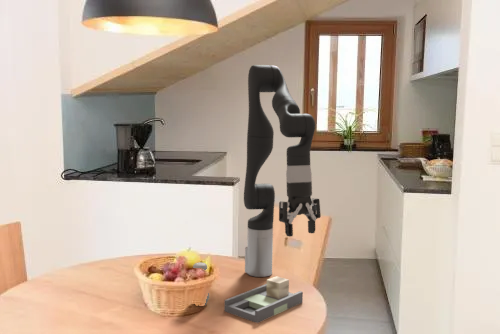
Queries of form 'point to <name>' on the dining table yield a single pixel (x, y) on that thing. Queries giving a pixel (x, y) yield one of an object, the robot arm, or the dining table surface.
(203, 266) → the salt shaker
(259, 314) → the trap lane
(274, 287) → the maple block
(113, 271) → the dining table surface
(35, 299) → the dining table surface
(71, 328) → the dining table surface
